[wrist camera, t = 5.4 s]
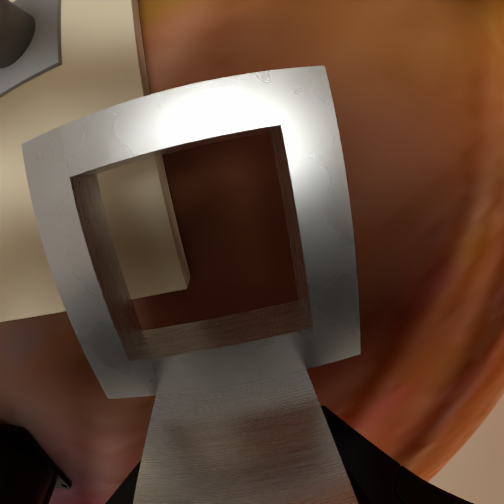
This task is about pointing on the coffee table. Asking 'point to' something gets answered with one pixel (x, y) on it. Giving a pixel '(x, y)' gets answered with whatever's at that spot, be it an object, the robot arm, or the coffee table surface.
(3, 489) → the robot arm
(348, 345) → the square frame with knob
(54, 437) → the coffee table surface
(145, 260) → the board
